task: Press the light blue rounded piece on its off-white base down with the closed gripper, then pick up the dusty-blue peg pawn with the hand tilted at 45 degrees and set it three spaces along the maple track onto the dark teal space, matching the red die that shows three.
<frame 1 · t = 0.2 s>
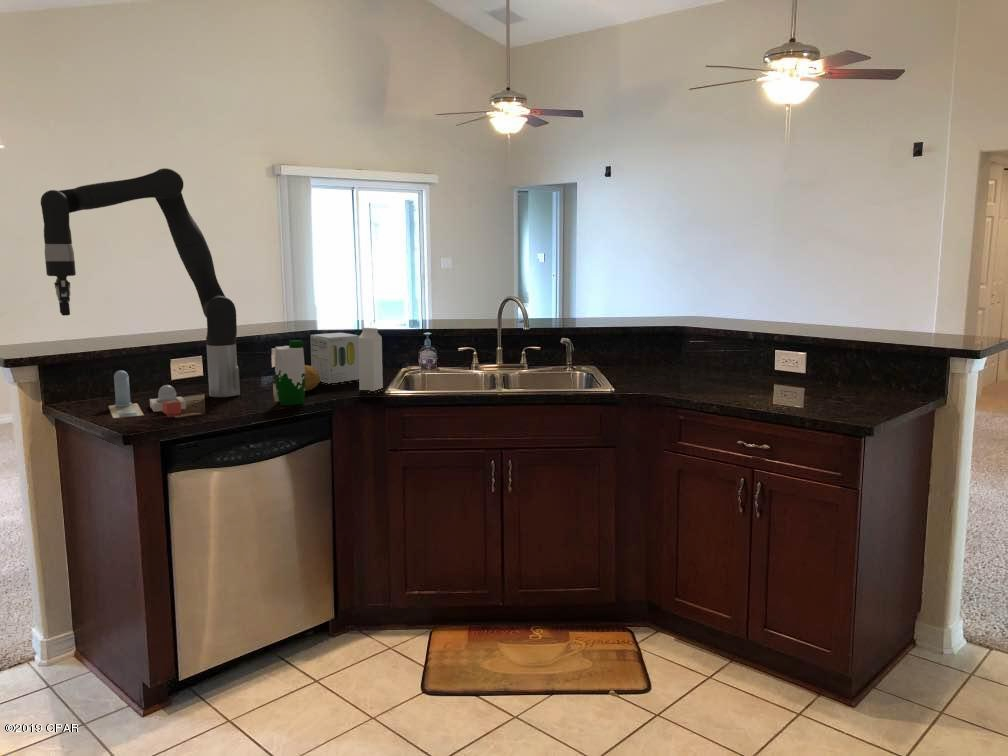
hand: (65, 314, 228), 29 cm above the counter, tool pointing down, fingers open, 8 cm apart
die: (172, 415, 224), on the counter
milk carton: (291, 403, 244), on the counter
pawn: (123, 405, 233), point 1 cm above the counter, touching track
dome base: (168, 410, 231), on the counter
milk: (371, 391, 266), on the counter
track: (125, 412, 227), on the counter
supplement box: (335, 381, 285), on the counter
light blue rounded piece: (167, 394, 231), point 5 cm above the counter, slide at 0.0 cm
potato: (303, 392, 263), on the counter
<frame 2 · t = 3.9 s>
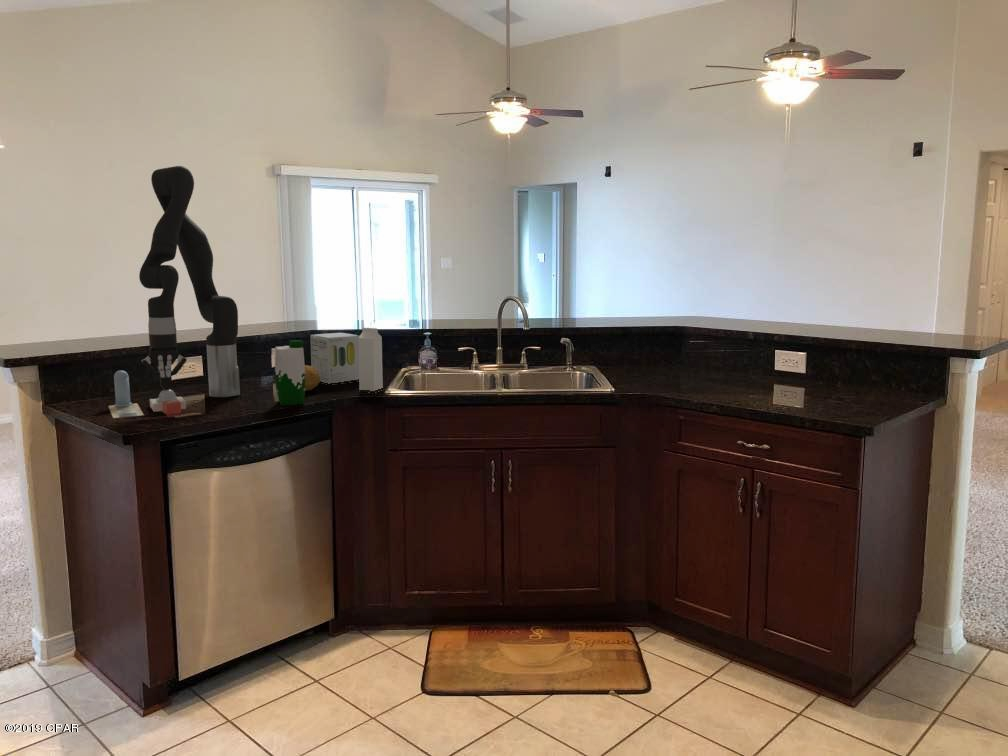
hand: (165, 389, 230), 6 cm above the counter, tool pointing down, fingers closed
light blue rounded piece: (167, 398, 231), point 4 cm above the counter, slide at 1.3 cm, touching gripper
everything else where it was.
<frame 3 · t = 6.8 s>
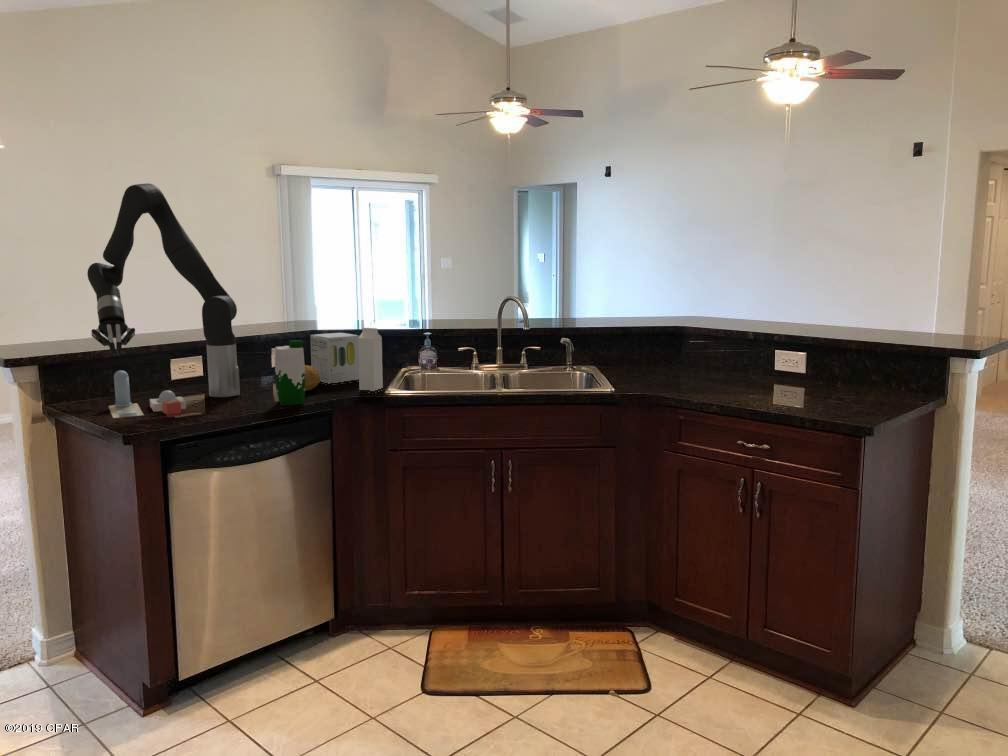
hand: (116, 354, 240), 16 cm above the counter, tool tilted 45°, fingers closed
light blue rounded piece: (167, 399, 231), point 3 cm above the counter, slide at 1.7 cm
everything else where it was.
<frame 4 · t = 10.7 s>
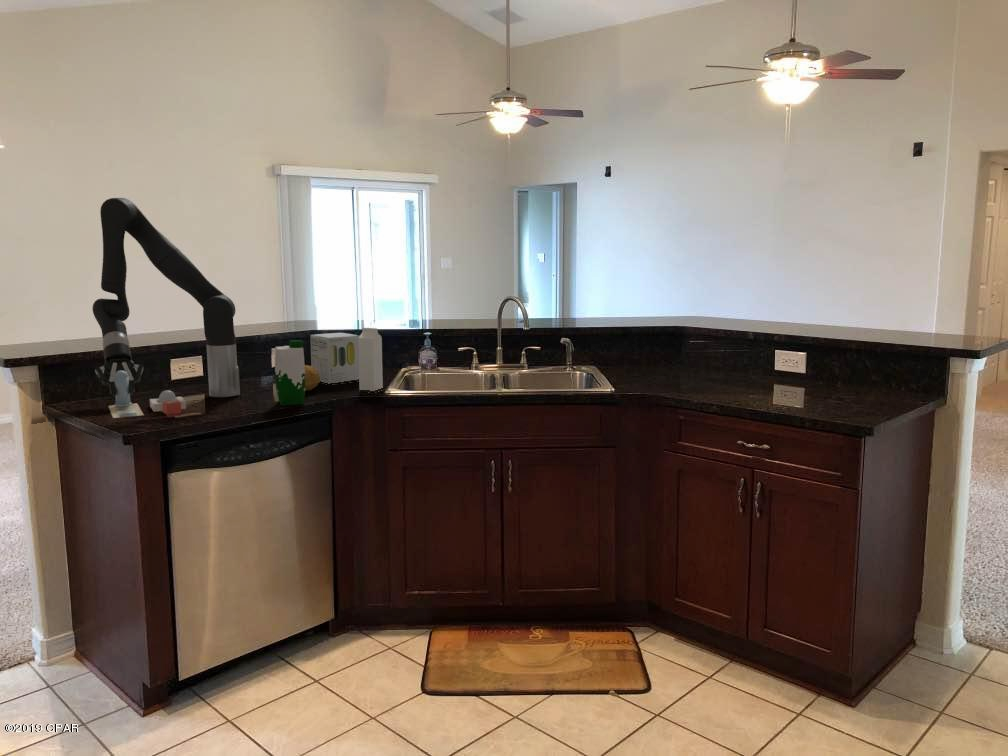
hand: (123, 393, 231), 5 cm above the counter, tool tilted 45°, fingers closed on pawn, 4 cm apart
pawn: (123, 405, 233), point 1 cm above the counter, touching gripper, track
everything else where it was.
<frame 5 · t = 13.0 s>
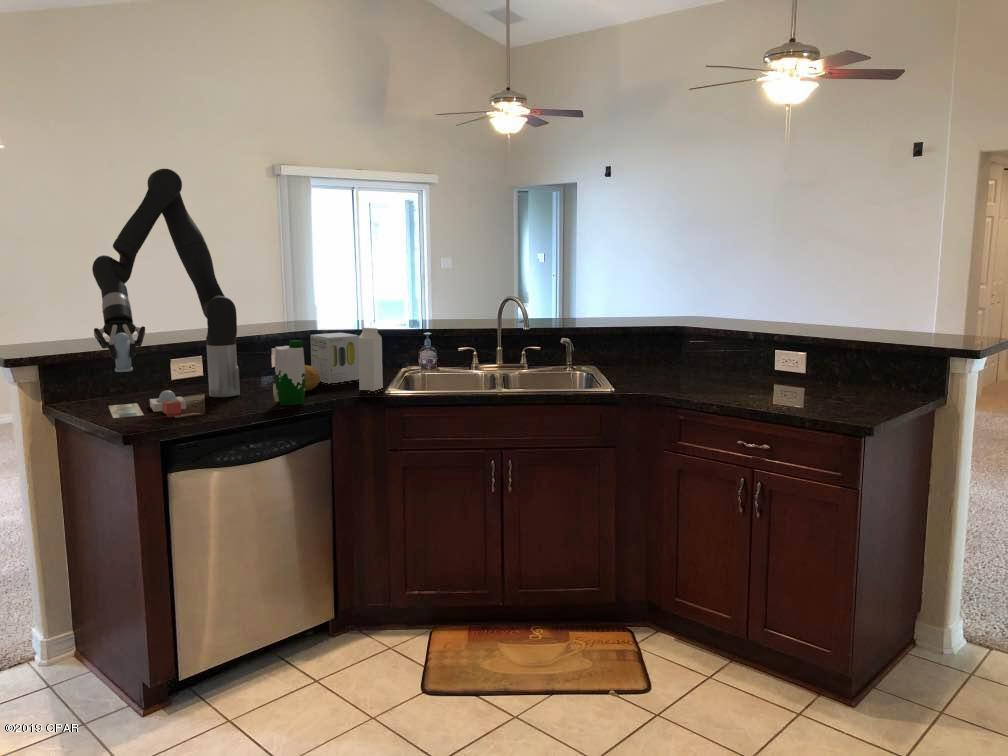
hand: (123, 357, 216), 18 cm above the counter, tool tilted 45°, fingers closed on pawn, 4 cm apart
pawn: (124, 370, 218), point 14 cm above the counter, touching gripper
everything else where it was.
when the fingers open (6 cm above the counter, at t = 15.5 s): pawn drops 1 cm, resting on track.
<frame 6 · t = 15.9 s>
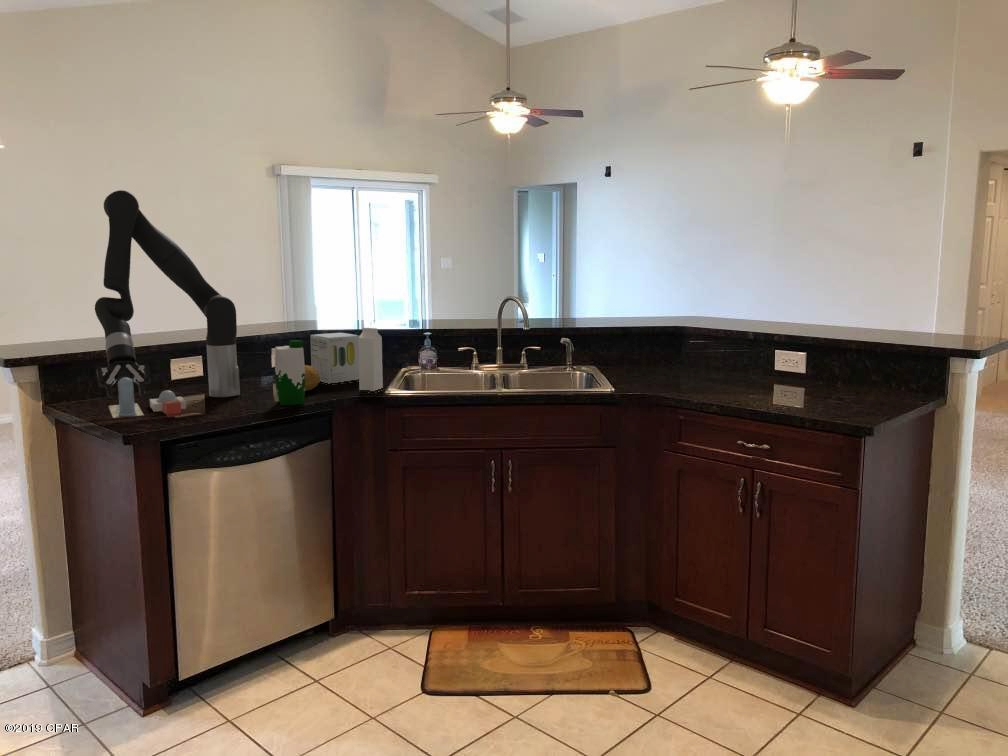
hand: (126, 395, 218), 7 cm above the counter, tool tilted 45°, fingers open, 7 cm apart
pawn: (127, 414, 220), point 1 cm above the counter, touching track
everything else where it was.
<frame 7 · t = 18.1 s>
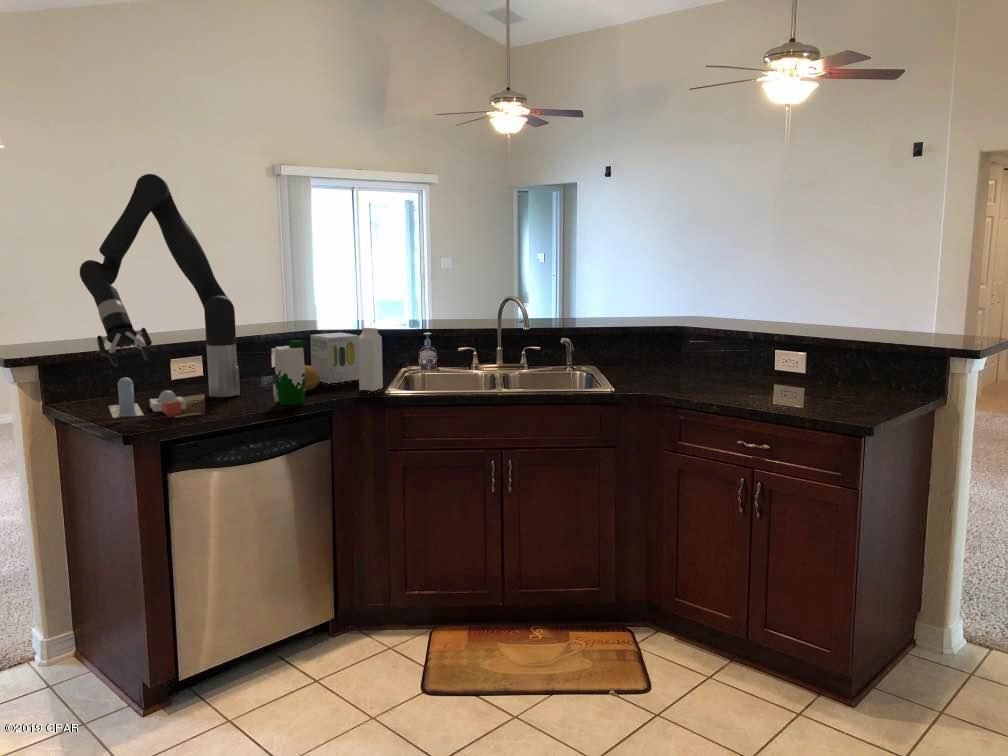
hand: (132, 362, 229), 15 cm above the counter, tool tilted 35°, fingers open, 8 cm apart
nothing on the counter moved.
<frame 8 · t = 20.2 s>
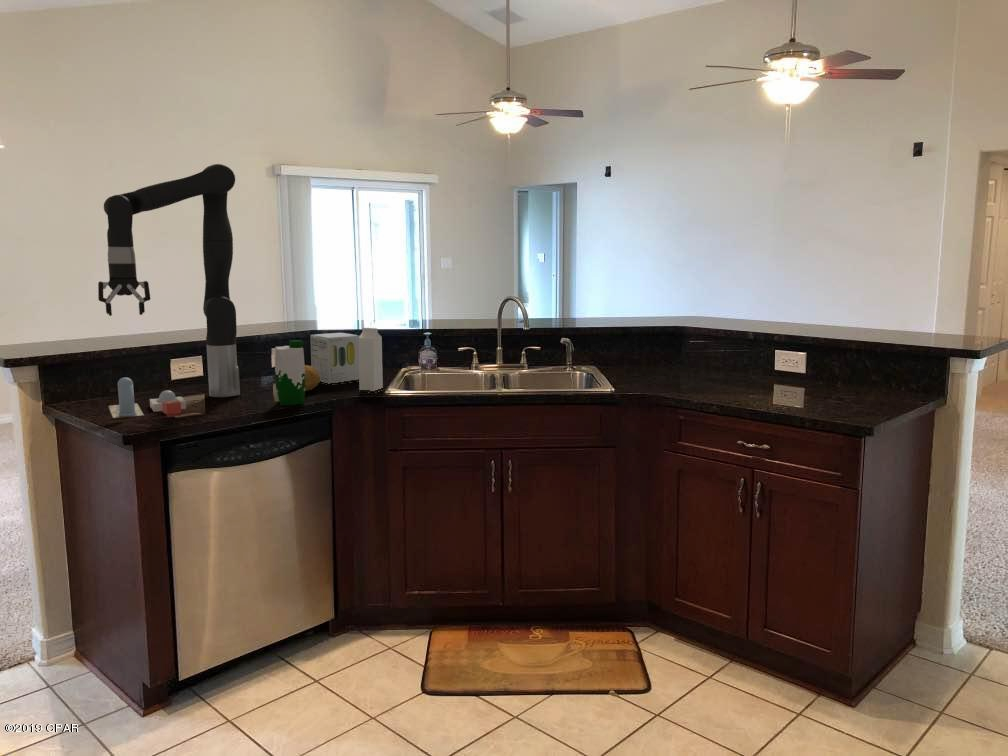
hand: (125, 315, 235), 28 cm above the counter, tool pointing down, fingers open, 8 cm apart
nothing on the counter moved.
at the end: pawn 0.1 cm from the target spot on the track, point 0.8 cm above the track's base; pawn tilted 0°; light blue rounded piece slide at 1.7 cm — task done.
